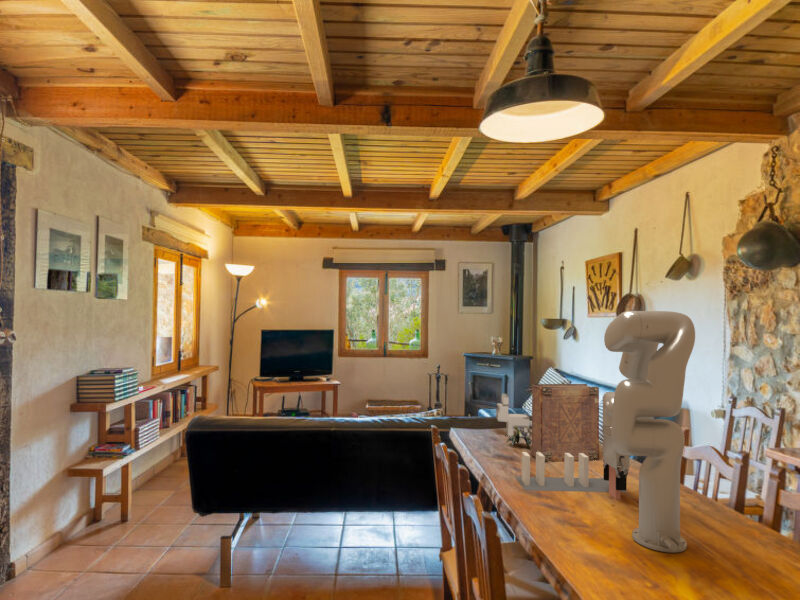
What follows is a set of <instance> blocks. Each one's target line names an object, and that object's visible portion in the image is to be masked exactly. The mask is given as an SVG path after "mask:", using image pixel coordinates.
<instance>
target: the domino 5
mask: <svg viewBox="0 0 800 600" xmlns="http://www.w3.org/2000/svg"><path fill="white" fill-rule="evenodd" d="M621 471H622V470H619V473H620V472H621ZM616 477H617V474H616V470H615V469H614V468H612V467H611V466H610V465H609V492H608V494H609V495H610V496H611V497H612V498H614V500H621V496H622V494H621V493H622V492H621V490H616Z"/></svg>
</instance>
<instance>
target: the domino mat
mask: <svg viewBox="0 0 800 600" xmlns="http://www.w3.org/2000/svg"><path fill="white" fill-rule="evenodd" d="M515 478H516V480H517V482H518V483H519V485H521V487H522V488H523V490H524V491H533V492H534V491H537V492H538V491H541V492H543V491H544V492H586V493H587V492H588V493H592V492H593V493H609V481H608V480H604V477H603V478H601V477H599V478H598V477H589V487H583V486H582V485H581V484H580V483H579V482H578V481H579V477H574V487H569V486H568V485H567V484H566V483H565V482H564V477H558V476H557V477H555V476H550V477H549V476H545V486H539V484H538V483H537V482H536V476H530V486H525V485H524V483H523V482H522V481H521V480H522V476H515ZM621 493H627V490H621Z"/></svg>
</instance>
